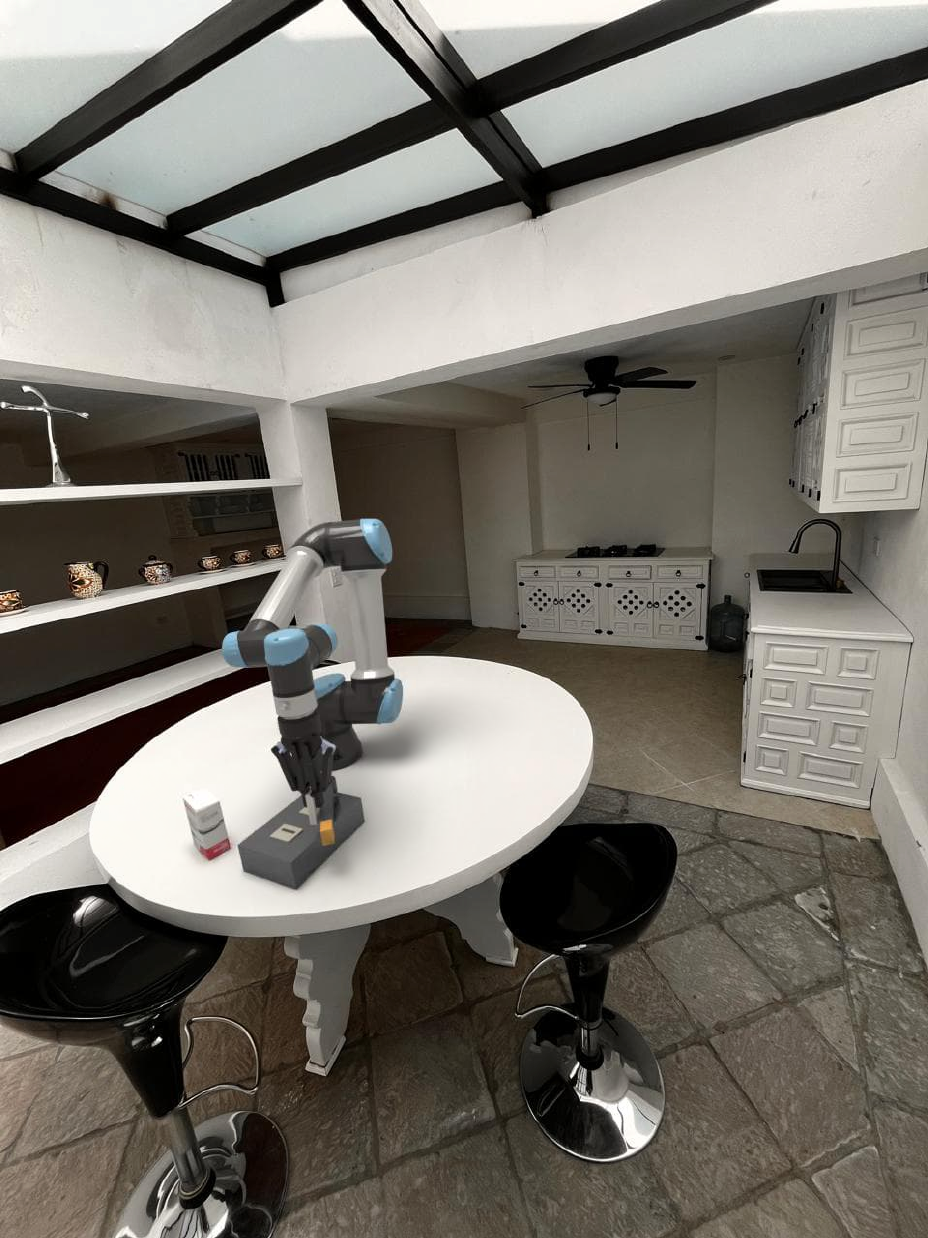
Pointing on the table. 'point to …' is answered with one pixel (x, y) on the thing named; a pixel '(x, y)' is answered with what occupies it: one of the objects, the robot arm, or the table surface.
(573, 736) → the table surface
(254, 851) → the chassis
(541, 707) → the table surface
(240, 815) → the table surface
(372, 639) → the robot arm
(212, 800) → the ink box
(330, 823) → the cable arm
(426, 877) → the table surface
